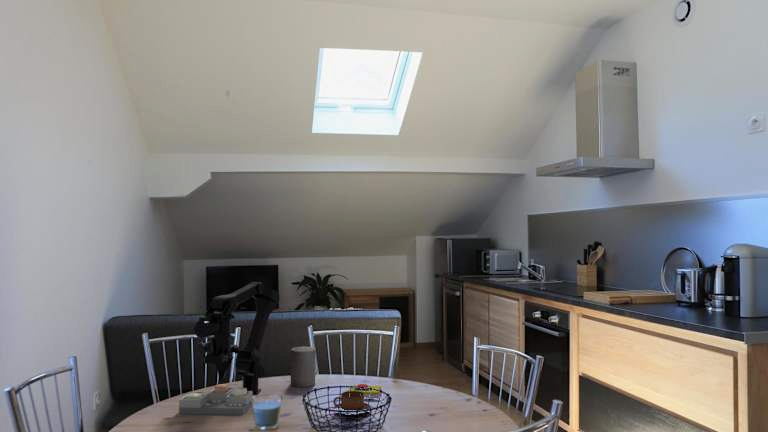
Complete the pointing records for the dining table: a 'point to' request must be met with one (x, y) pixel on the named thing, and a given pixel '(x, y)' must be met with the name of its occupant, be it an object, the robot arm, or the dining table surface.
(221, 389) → the terracotta button
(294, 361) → the pillar candle
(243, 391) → the cream button
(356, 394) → the cup and saucer
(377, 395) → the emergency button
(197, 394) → the sage button
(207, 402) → the button panel
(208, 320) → the robot arm
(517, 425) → the dining table surface
